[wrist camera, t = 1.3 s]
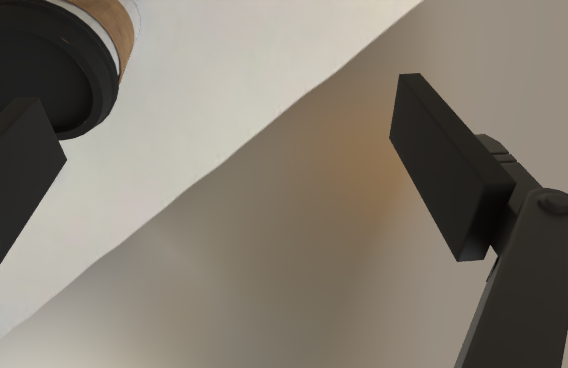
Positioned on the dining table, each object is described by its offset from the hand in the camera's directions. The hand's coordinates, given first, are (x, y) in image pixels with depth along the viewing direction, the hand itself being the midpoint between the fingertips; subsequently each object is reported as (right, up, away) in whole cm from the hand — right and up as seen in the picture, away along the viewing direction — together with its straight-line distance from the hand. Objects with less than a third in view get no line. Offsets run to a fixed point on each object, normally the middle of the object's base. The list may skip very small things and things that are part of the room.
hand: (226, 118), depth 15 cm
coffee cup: (-13, +12, +19) cm, 26 cm away
